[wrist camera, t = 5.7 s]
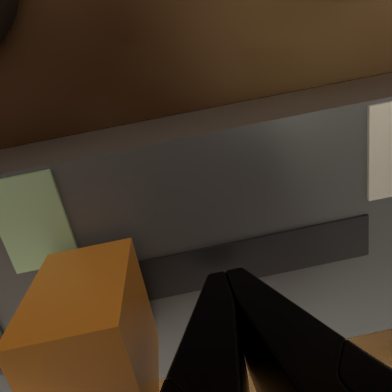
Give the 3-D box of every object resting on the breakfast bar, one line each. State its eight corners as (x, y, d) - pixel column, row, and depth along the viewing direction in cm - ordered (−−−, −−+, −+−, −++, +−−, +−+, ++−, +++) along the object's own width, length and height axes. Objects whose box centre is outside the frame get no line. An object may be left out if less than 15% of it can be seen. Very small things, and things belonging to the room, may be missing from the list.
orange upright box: (158, 334, 10) (158, 449, 7) (84, 350, 9) (54, 471, 7) (131, 237, 8) (118, 326, 6) (47, 254, 8) (-8, 353, 6)
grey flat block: (447, 243, 14) (535, 300, 11) (-2, 337, 14) (-54, 427, 10) (466, 57, 12) (591, 57, 8) (-89, 166, 11) (-193, 213, 8)
